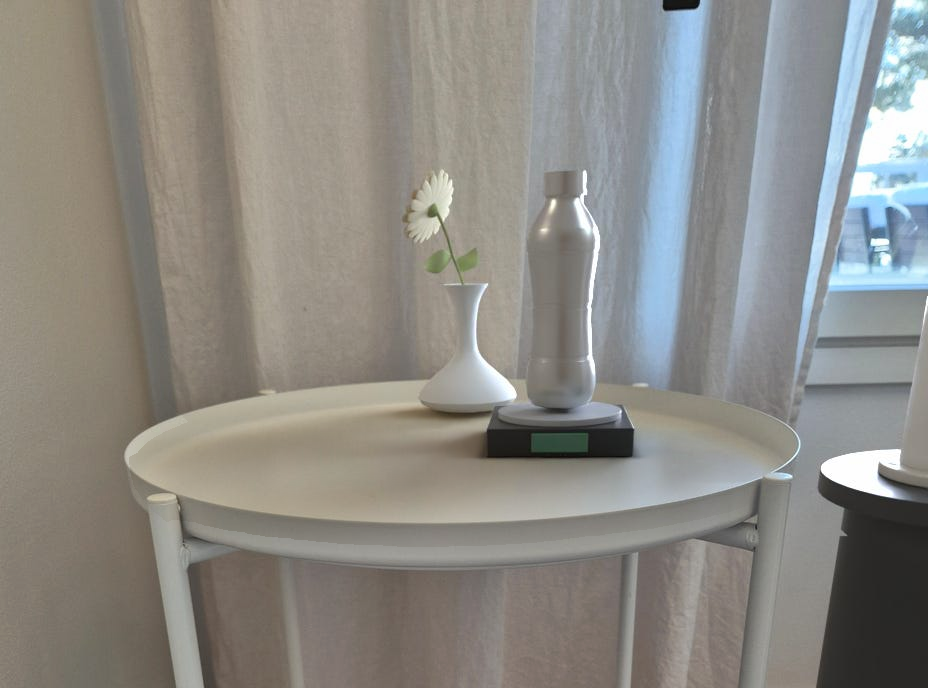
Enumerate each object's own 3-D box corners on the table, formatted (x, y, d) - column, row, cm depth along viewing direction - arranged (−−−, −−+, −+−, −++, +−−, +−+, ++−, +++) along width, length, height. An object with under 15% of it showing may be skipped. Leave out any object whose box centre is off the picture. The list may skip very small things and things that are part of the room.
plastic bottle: (556, 418, 80) (562, 168, 72) (510, 409, 85) (511, 174, 77) (609, 410, 83) (620, 169, 75) (562, 401, 88) (567, 176, 80)
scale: (622, 429, 91) (623, 398, 90) (633, 457, 78) (635, 422, 77) (495, 430, 92) (495, 399, 91) (486, 458, 80) (486, 423, 79)
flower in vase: (476, 400, 111) (473, 175, 101) (536, 410, 102) (540, 166, 92) (388, 413, 104) (375, 172, 94) (445, 425, 95) (438, 162, 85)
